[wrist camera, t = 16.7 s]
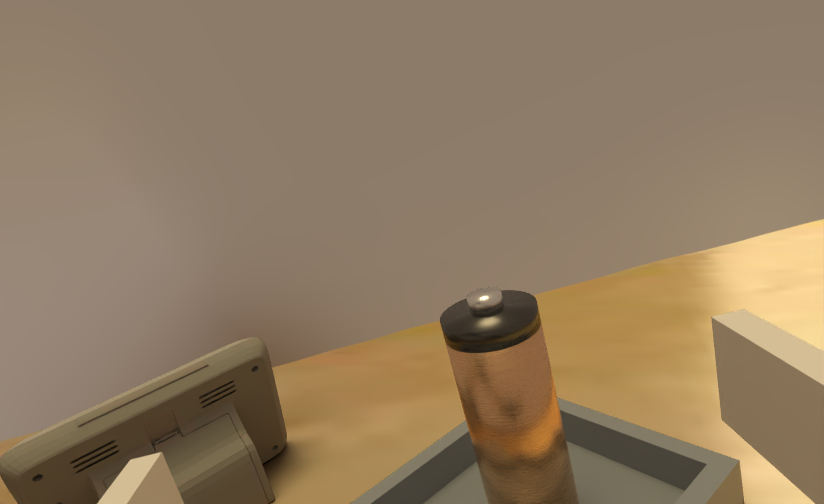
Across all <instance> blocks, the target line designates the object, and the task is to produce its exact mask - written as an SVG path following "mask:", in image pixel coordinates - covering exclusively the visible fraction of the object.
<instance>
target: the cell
mask: <svg viewBox="0 0 824 504" xmlns="http://www.w3.org/2000/svg"><path fill="white" fill-rule="evenodd" d="M440 323H441V327H442V331H443V335H444V338H445V342H446V346H447V350H448V353H449V357H450V361H451V365H452V369H453V372H454V376H455V380H456V384H457V388H458V391H459V395H460V399H461V403H462V407H463V410H464V414H465V418H466V422H467V426H468V429H469V433H470V437H471V441H472V444H473V448H474V452H475V456H476V460H477V463H478V467H479V471H480V475H481V479H482V482H483V486H484V490H485V494H486V498H487V501H488V504H579V499H578V494H577V489H576V485H575V480H574V475H573V471H572V466H571V461H570V456H569V452H568V447H567V442H566V438H565V433H564V428H563V423H562V419H561V414H560V409H559V405H558V400H557V395H556V390H555V386H554V381H553V376H552V372H551V367H550V362H549V357H548V353H547V348H546V343H545V338H544V334H543V329H542V324H541V320H540V315H539V310H538V305H537V301H536V298H535V297H534V296H533V295H531V294H529V293H526V292H522V291H513V290H504V291H501V289H499V288H497V287H485V288H481V289H477V290H475V291H472V292H471V293H469V294H468V295H467V297H466V299H464V300H461V301H459V302H457V303H455V304H454V305H452V306H451V307H449V308H448V309H447V310H445V311H444V312H443V314H442V315H441V317H440Z"/></svg>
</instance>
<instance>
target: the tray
mask: <svg viewBox="0 0 824 504" xmlns="http://www.w3.org/2000/svg"><path fill="white" fill-rule="evenodd" d="M557 400H558V405H559V409H560V414H561V419H562V423H563V428H564V433H565V438H566V442H567V447H568V452H569V456H570V461H571V466H572V471H573V475H574V480H575V485H576V489H577V494H578V499H579V504H744V496H743V487H742V479H741V470H740V462H739V460H737V459H734V458H731V457H728V456H725V455H722V454H719V453H716V452H713V451H711V450H708V449H705V448H702V447H699V446H696V445H693V444H690V443H687V442H684V441H682V440H679V439H676V438H673V437H670V436H667V435H664V434H661V433H658V432H656V431H653V430H650V429H647V428H644V427H641V426H638V425H635V424H632V423H630V422H627V421H624V420H621V419H618V418H615V417H612V416H609V415H606V414H603V413H601V412H598V411H595V410H592V409H589V408H586V407H583V406H580V405H577V404H575V403H572V402H569V401H566V400H563V399H560V398H557ZM350 504H488V501H487V498H486V494H485V490H484V486H483V482H482V479H481V475H480V471H479V467H478V463H477V460H476V456H475V452H474V448H473V444H472V441H471V437H470V433H469V429H468V426H467V422H466V420H465V421H464V422H463V423H461V424H460V425H459V426H457V427H456V428H454V429H453V430H452V431H450V432H449V433H447V434H446V435H445V436H443V437H442V438H441V439H439V440H438V441H436V442H435V443H434V444H432V445H431V446H429V447H428V448H427V449H425V450H424V451H422V452H421V453H420V454H418V455H417V456H416V457H414V458H413V459H411V460H410V461H409V462H407V463H406V464H404V465H403V466H402V467H400V468H399V469H398V470H396V471H395V472H393V473H392V474H391V475H389V476H388V477H386V478H385V479H384V480H382V481H381V482H379V483H378V484H377V485H375V486H374V487H373V488H371V489H370V490H368V491H367V492H366V493H364V494H363V495H361V496H360V497H359V498H357V499H356V500H355V501H353V502H352V503H350Z"/></svg>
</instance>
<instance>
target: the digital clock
mask: <svg viewBox="0 0 824 504" xmlns="http://www.w3.org/2000/svg"><path fill="white" fill-rule="evenodd" d="M286 439H287V434H286V428H285V424H284V419H283V415H282V410H281V406H280V401H279V397H278V392H277V388H276V384H275V379H274V375H273V370H272V366H271V361H270V358H269V354H268V350H267V347H266V345H265V343H264V342H263V340H262V339H261V338H259V337H253V338H248V339H243V340H240V341H237V342H234V343H232V344H230V345H228V346H225V347H223V348H220V349H218V350H216V351H214V352H212V353H209V354H207V355H205V356H203V357H201V358H198V359H196V360H194V361H192V362H190V363H188V364H185V365H183V366H181V367H179V368H177V369H175V370H173V371H170V372H168V373H166V374H164V375H161V376H159V377H157V378H155V379H153V380H151V381H148V382H146V383H144V384H142V385H140V386H138V387H135V388H133V389H131V390H129V391H127V392H125V393H122V394H120V395H118V396H116V397H114V398H112V399H109V400H107V401H105V402H103V403H101V404H98V405H97V406H94V407H92V408H90V409H88V410H85V411H83V412H81V413H79V414H77V415H75V416H73V417H70V418H68V419H66V420H64V421H62V422H60V423H58V424H55V425H53V426H51V427H49V428H47V429H45V430H43V431H41V432H39V433H36V434H34V435H32V436H30V437H28V438H26V439H24V440H23V441H21V442H19V443H18V444H16V445H15V446H14V447H12V448H11V449H9V450H8V451H7V452H6V453H4V454H3V455H2V456H1V457H0V476H1V478H2V480H3V481H4V483H5V485H6V486H7V488H8V490H9V491H10V493H11V494H12V496H13V497H14V499H15V500H16V501H17V503H18V504H97V503H98V502H99V501H100V499H101V498H102V497H103V495H104V494H105V493H106V491H107V490H108V489H109V487H110V486H111V485H112V483H113V482H114V481H115V479H116V478H117V477H118V475H119V474H120V473H121V471H122V470H123V469H124V467H125V466H126V465H127V463H128V462H129V461H130V460H131V459H135V458H139V457H143V456H148V455H152V454H156V453H160V452H162V454H163V456H164V458H165V461H166V463H167V465H168V467H169V470H170V472H171V474H172V477H173V479H174V481H175V484H176V486H177V488H178V491H179V493H180V495H181V498H182V500H183V502H184V504H268V503H270V502H272V501H273V500H275V497H274V494H273V492H272V489H271V486H270V484H269V481H268V479H267V476H266V473H265V471H264V468H263V465H262V464H263V463H265V462H266V461H268V460H270V459H271V458H273V457H274V456H276V455H277V454H279V453H280V452H281V451H282V450H283V448H284V446H285V444H286Z"/></svg>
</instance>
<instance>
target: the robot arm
mask: <svg viewBox="0 0 824 504" xmlns="http://www.w3.org/2000/svg"><path fill="white" fill-rule="evenodd" d="M711 318H712V328H713V338H714V348H715V358H716V368H717V378H718V388H719V398H720V407H721V417H722V420H723V421H724V422H725V423H726V424H727V425H728V426H729V427H731V428H732V429H733V430H734V431H735V432H736V433H737V434H738V435H740V436H741V437H742V438H743V439H744V440H745V441H746V442H747V443H748V444H750V445H751V446H752V447H753V448H754V449H755V450H756V451H757V452H758V453H760V454H761V455H762V456H763V457H764V458H765V459H766V460H767V461H769V462H770V463H771V464H772V465H773V466H774V467H775V468H776V469H777V470H779V471H780V472H781V473H782V474H783V475H784V476H785V477H786V478H788V479H789V480H790V481H791V482H792V483H793V484H794V485H795V486H796V487H798V488H799V489H800V490H801V491H802V492H803V493H804V494H805V495H807V496H808V497H809V498H810V499H811V500H812V501H813V502H814V503H815V504H824V351H822V350H821V349H819V348H817V347H815V346H813V345H811V344H809V343H807V342H805V341H804V340H802V339H800V338H798V337H796V336H794V335H792V334H790V333H788V332H787V331H785V330H783V329H781V328H779V327H777V326H775V325H773V324H771V323H770V322H768V321H766V320H764V319H762V318H760V317H758V316H756V315H754V314H753V313H751V312H749V311H747V310H745V309H742V310H738V311H734V312H730V313H726V314H722V315H717V316H713V317H711ZM97 504H184V502H183V500H182V498H181V495H180V493H179V491H178V488H177V486H176V484H175V481H174V479H173V477H172V474H171V472H170V470H169V467H168V465H167V463H166V461H165V458H164V456H163V454H162V452H160V453H156V454H152V455H148V456H143V457H139V458H135V459H131V460H130V461H129V462H128V463H127V465H126V466H125V467H124V469H123V470H122V471H121V473H120V474H119V475H118V477H117V478H116V479H115V481H114V482H113V483H112V485H111V486H110V487H109V489H108V490H107V491H106V493H105V494H104V495H103V497H102V498H101V499H100V501H99V502H98V503H97Z"/></svg>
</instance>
